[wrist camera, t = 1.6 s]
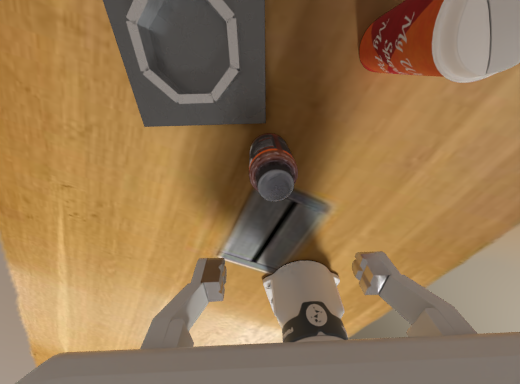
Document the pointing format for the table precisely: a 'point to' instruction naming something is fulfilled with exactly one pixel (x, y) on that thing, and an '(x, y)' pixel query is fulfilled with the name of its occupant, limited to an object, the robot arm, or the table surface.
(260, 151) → the supplement bottle
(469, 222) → the table surface
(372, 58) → the paper cup
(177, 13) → the ring collar
